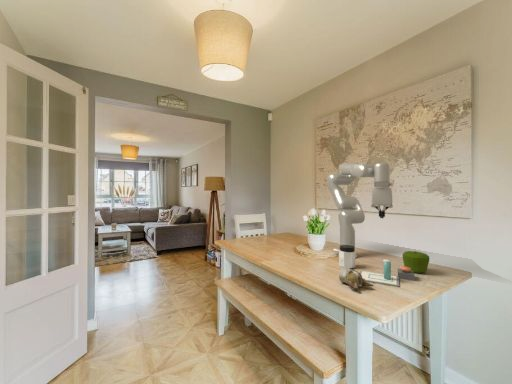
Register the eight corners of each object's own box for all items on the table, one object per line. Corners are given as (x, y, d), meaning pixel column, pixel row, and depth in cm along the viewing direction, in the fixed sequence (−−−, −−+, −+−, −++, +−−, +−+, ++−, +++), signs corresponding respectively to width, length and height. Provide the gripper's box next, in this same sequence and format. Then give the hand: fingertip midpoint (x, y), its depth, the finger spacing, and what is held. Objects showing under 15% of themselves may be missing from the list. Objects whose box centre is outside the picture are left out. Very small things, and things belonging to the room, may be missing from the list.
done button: (400, 276, 122) (400, 267, 122) (400, 274, 126) (400, 265, 126) (411, 278, 120) (411, 269, 120) (410, 275, 124) (410, 266, 124)
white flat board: (356, 280, 119) (356, 278, 119) (360, 271, 132) (360, 270, 132) (399, 287, 110) (399, 285, 110) (398, 277, 123) (398, 275, 123)
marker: (383, 279, 118) (383, 260, 119) (383, 277, 121) (383, 259, 121) (391, 280, 117) (390, 261, 117) (391, 278, 120) (390, 259, 120)
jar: (336, 265, 144) (336, 245, 144) (347, 264, 146) (347, 244, 146) (346, 269, 135) (346, 248, 135) (358, 268, 138) (358, 247, 138)
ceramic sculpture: (349, 261, 120) (375, 272, 107) (348, 278, 121) (374, 291, 107) (332, 264, 116) (357, 275, 102) (332, 282, 116) (356, 295, 103)
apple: (434, 276, 125) (434, 254, 125) (408, 274, 127) (408, 253, 127) (422, 268, 137) (422, 248, 137) (399, 267, 140) (399, 247, 140)
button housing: (397, 278, 121) (397, 272, 121) (397, 274, 127) (397, 268, 128) (414, 280, 118) (414, 274, 118) (413, 276, 124) (413, 270, 124)
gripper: (397, 185, 134) (397, 218, 134) (367, 185, 142) (367, 216, 142) (397, 184, 128) (397, 219, 128) (366, 185, 135) (366, 218, 135)
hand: (381, 218), depth 135 cm, fingers closed
